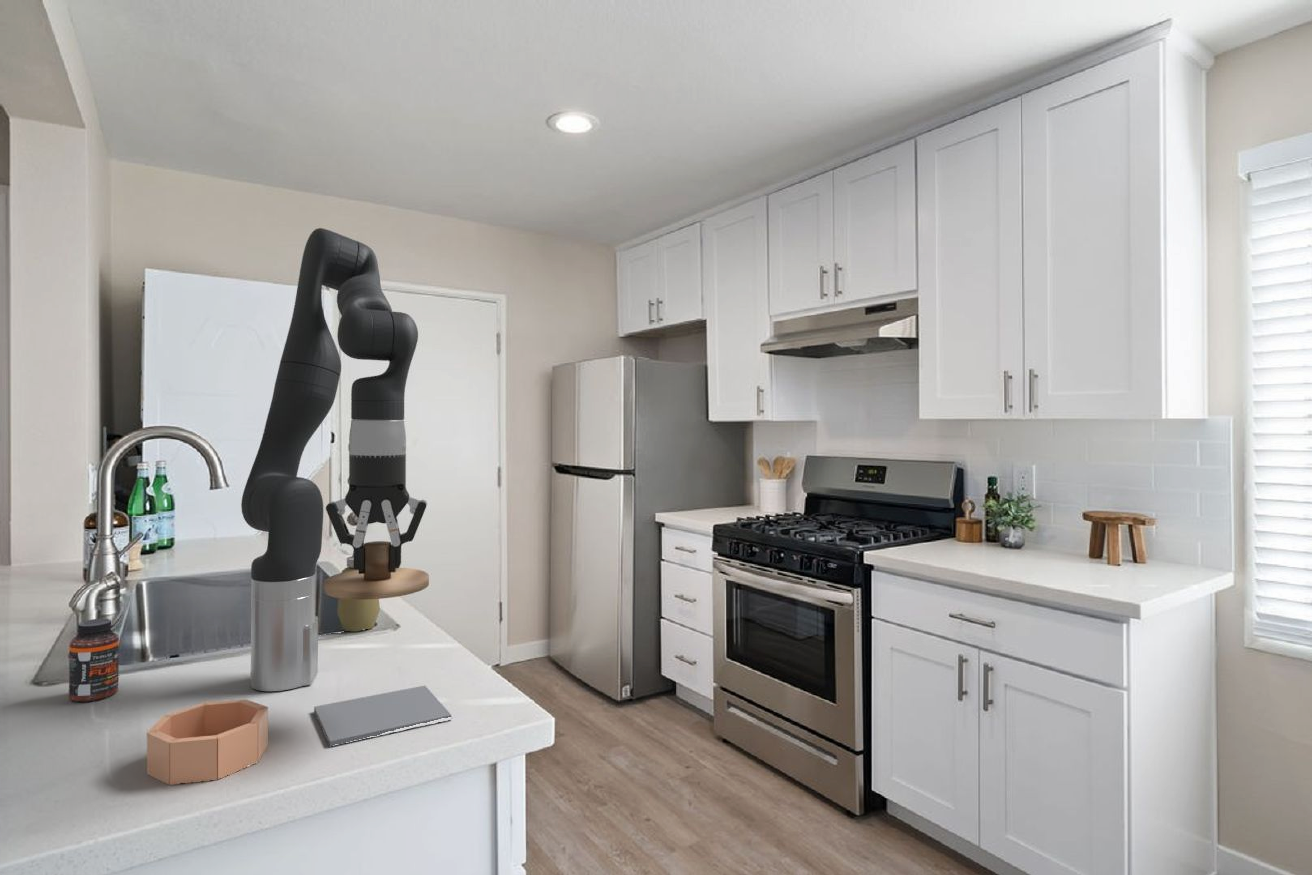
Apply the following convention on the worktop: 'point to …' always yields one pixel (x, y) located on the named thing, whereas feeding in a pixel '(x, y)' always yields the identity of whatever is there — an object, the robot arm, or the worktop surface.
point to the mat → (378, 714)
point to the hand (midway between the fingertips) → (377, 571)
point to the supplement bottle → (93, 661)
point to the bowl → (207, 741)
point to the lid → (376, 577)
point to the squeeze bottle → (357, 608)
